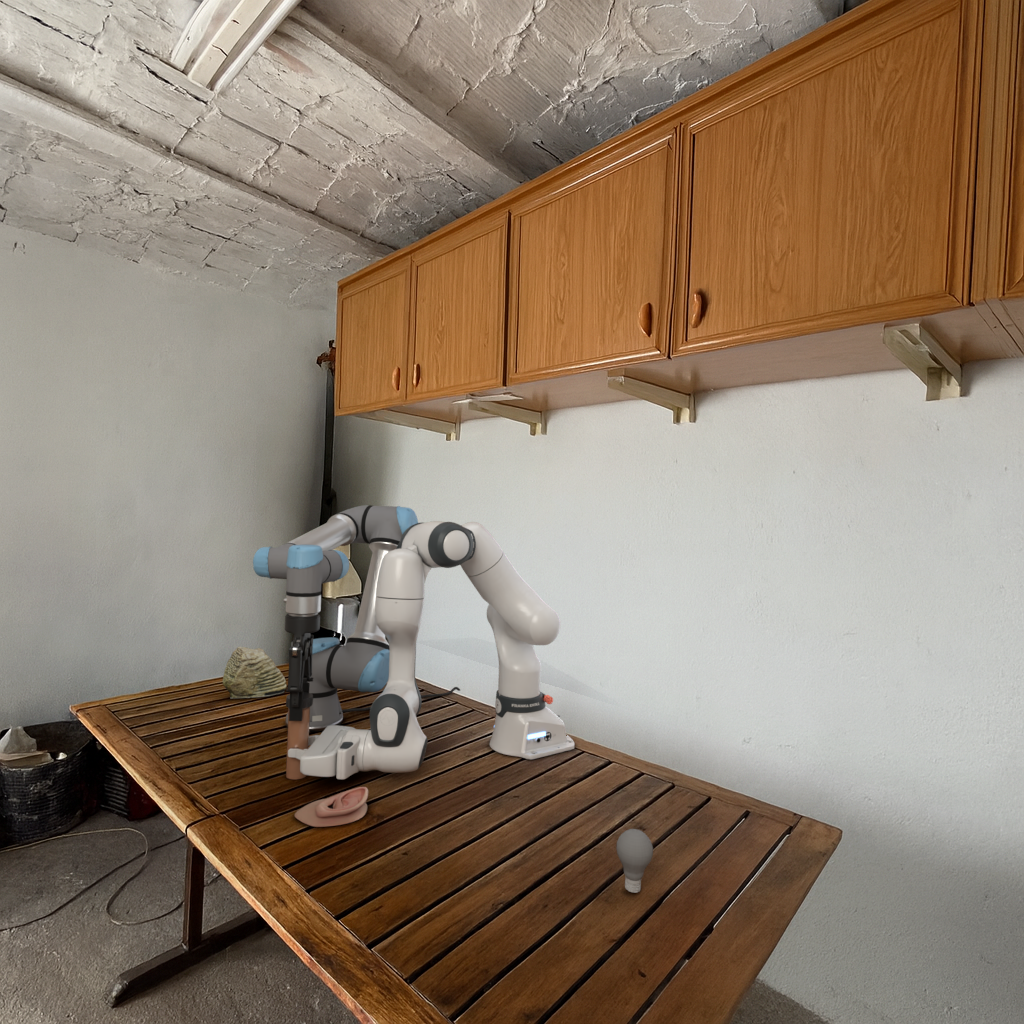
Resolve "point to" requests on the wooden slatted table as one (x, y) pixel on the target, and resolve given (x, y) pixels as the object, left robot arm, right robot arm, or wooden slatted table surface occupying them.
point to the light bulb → (634, 857)
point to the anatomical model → (335, 809)
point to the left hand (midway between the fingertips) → (299, 715)
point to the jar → (297, 743)
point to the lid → (306, 700)
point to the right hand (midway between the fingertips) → (293, 746)
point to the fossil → (252, 674)
